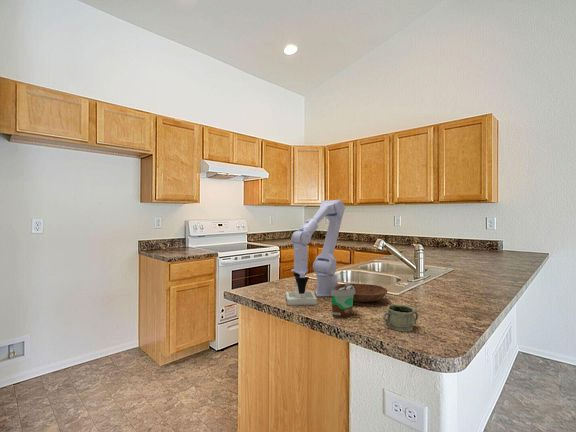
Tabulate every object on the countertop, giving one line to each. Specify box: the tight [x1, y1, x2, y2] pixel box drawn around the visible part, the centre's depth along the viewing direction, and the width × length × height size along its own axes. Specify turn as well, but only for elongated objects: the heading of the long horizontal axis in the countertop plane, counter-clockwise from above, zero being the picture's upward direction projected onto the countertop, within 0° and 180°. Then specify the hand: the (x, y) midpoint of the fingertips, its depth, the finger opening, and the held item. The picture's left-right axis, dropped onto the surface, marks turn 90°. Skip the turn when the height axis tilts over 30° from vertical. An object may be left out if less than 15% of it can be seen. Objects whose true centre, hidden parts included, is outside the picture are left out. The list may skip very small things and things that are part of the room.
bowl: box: [335, 283, 388, 303], centre depth 131 cm, size 20×22×5 cm
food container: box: [330, 283, 355, 318], centre depth 112 cm, size 12×6×10 cm, turn 143°
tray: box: [285, 290, 318, 307], centre depth 129 cm, size 12×12×2 cm
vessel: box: [383, 303, 419, 332], centre depth 100 cm, size 12×9×6 cm
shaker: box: [294, 282, 307, 299], centre depth 129 cm, size 4×4×7 cm
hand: (300, 291), depth 129 cm, fingers open, 7 cm apart
